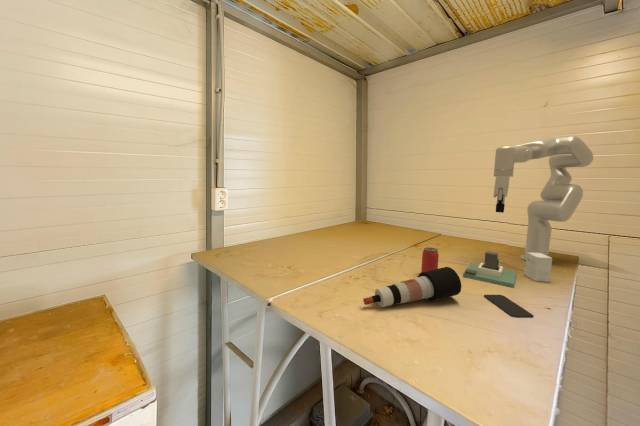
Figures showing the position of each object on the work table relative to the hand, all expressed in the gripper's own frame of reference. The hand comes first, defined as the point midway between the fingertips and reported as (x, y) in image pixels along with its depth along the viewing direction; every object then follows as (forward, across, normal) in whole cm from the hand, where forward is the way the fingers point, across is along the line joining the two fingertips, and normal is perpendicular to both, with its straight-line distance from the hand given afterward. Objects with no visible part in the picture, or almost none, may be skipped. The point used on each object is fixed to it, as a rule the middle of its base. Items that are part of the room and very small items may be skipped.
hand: (499, 212), depth 126 cm
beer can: (+27, +34, -21) cm, 48 cm away
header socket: (+25, +17, 0) cm, 30 cm away
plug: (+25, +17, 0) cm, 30 cm away
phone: (+27, +46, +8) cm, 54 cm away
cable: (+27, +64, -19) cm, 72 cm away
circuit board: (+27, +17, 0) cm, 32 cm away
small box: (+27, +8, +16) cm, 32 cm away
